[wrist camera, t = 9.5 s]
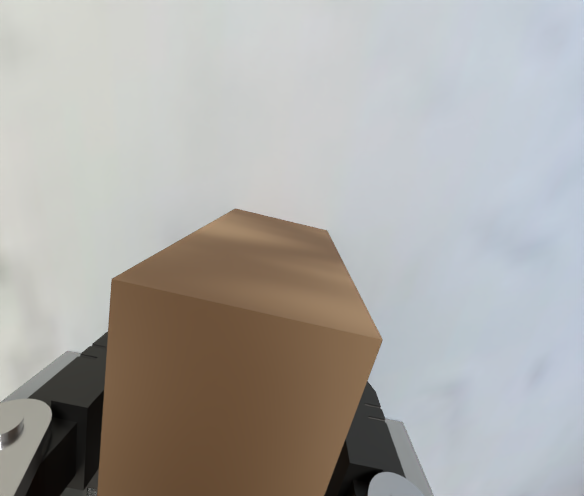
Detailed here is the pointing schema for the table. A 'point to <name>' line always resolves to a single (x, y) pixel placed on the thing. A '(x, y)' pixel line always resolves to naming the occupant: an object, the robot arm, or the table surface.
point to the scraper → (233, 364)
